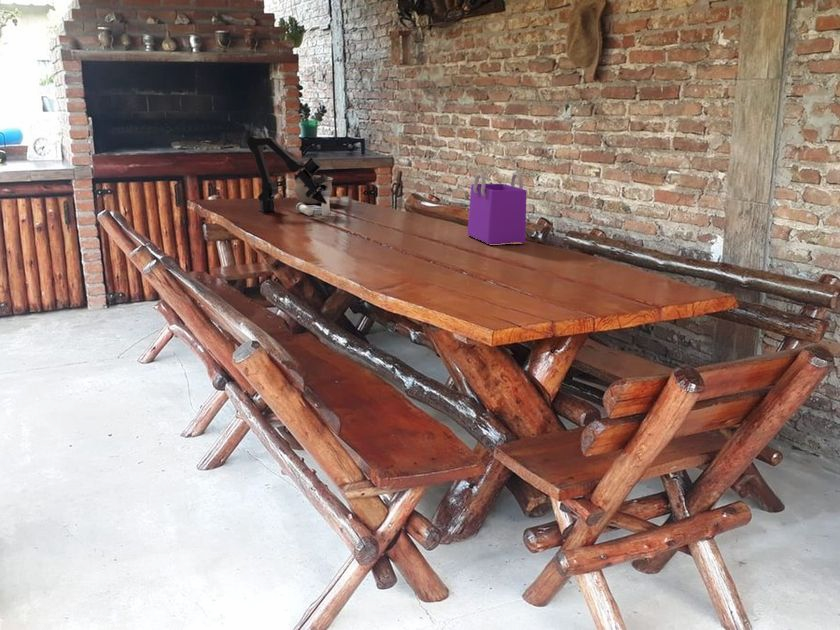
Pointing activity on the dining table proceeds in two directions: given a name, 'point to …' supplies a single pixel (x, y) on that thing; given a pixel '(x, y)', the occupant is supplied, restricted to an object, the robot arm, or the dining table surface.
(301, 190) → the ceramic bowl
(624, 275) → the dining table surface
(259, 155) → the robot arm
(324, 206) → the translucent upright cylinder
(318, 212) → the housing
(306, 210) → the white plastic cylinder
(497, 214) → the shopping bag
